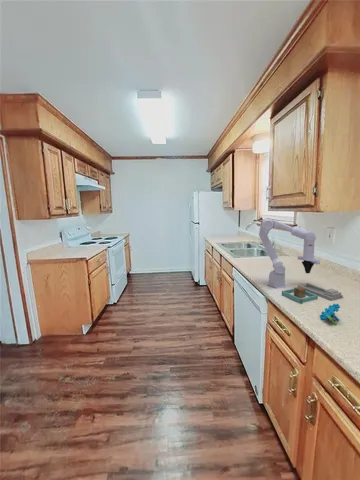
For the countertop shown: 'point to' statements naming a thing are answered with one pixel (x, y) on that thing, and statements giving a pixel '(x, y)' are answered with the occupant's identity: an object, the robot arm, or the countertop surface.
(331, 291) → the light grey block
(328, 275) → the countertop surface
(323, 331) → the countertop surface
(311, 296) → the tray
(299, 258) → the robot arm
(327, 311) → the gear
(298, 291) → the stop block
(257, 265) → the countertop surface
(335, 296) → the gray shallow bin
